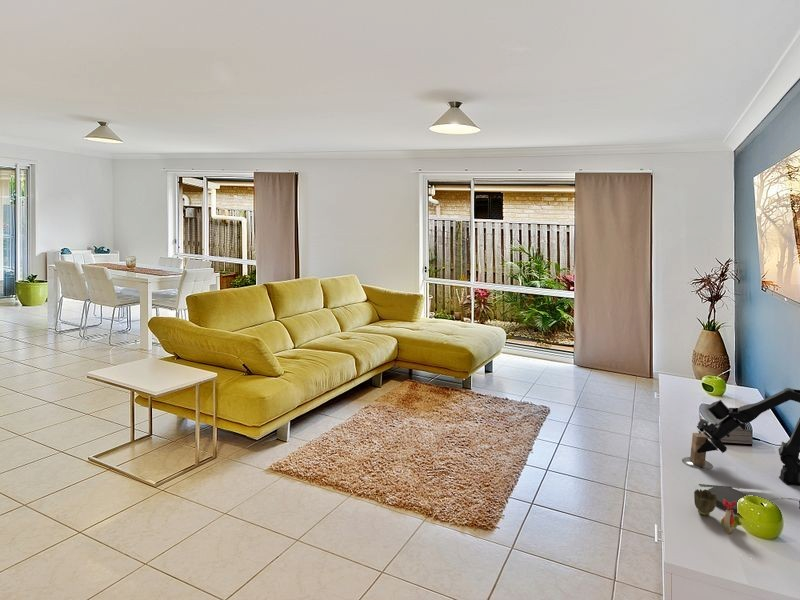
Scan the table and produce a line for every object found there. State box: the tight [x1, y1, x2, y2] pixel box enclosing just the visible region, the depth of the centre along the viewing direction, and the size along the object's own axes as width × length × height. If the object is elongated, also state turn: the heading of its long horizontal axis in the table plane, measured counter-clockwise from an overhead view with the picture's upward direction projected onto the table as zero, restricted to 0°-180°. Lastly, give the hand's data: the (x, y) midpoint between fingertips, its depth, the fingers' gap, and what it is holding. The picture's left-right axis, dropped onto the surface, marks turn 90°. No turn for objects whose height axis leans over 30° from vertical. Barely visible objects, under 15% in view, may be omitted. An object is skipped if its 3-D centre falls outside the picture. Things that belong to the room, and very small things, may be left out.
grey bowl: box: [681, 456, 714, 471], centre depth 233 cm, size 12×12×5 cm
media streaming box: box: [706, 485, 748, 514], centre depth 203 cm, size 15×15×3 cm
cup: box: [693, 488, 718, 517], centre depth 194 cm, size 8×7×8 cm
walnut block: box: [689, 432, 709, 466], centre depth 232 cm, size 4×4×13 cm
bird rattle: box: [720, 499, 743, 534], centre depth 184 cm, size 6×11×9 cm
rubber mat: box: [698, 483, 733, 488], centre depth 218 cm, size 12×10×1 cm
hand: (695, 449), depth 232 cm, fingers closed on walnut block, 4 cm apart
